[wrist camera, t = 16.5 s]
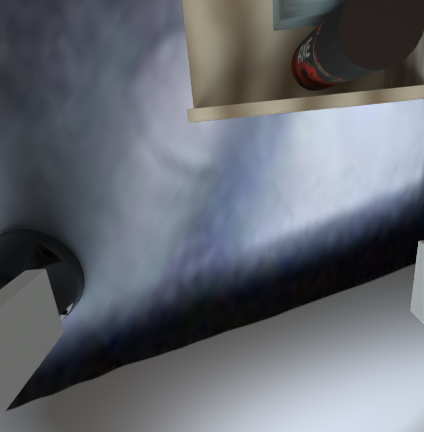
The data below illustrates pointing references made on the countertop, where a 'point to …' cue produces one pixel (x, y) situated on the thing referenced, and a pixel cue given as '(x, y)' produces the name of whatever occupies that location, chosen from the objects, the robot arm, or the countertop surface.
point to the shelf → (274, 61)
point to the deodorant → (358, 41)
